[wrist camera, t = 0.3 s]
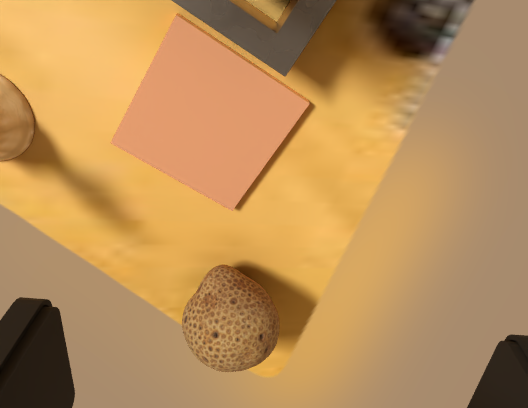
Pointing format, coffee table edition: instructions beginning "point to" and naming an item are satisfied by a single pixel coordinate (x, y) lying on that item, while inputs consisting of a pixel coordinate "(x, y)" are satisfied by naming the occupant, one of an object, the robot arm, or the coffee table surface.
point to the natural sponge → (230, 321)
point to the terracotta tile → (207, 115)
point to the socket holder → (263, 27)
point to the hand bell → (14, 121)
